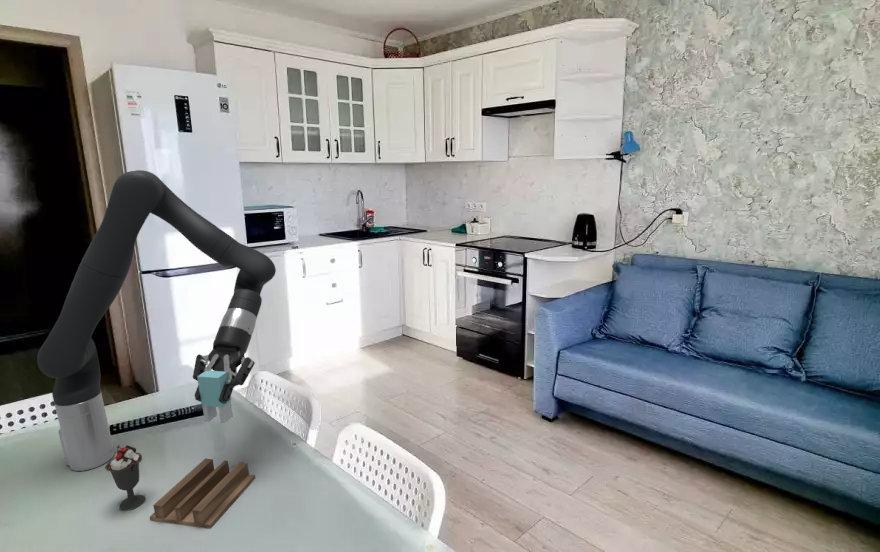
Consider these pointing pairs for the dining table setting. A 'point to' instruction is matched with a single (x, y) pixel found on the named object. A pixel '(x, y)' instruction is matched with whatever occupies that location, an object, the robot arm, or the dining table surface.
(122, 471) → the sundae
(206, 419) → the aqua box with feet
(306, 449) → the dining table surface
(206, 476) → the rail
